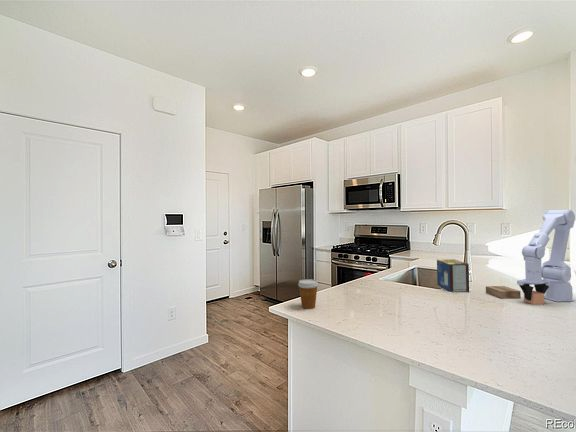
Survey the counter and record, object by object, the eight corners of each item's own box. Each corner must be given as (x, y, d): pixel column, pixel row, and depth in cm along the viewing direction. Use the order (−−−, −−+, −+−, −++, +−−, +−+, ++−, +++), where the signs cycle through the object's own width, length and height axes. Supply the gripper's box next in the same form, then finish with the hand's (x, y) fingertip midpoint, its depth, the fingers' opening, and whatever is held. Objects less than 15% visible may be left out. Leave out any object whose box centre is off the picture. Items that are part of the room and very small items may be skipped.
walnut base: (504, 293, 145) (504, 285, 145) (520, 299, 135) (520, 291, 135) (485, 293, 144) (485, 286, 144) (500, 299, 134) (500, 291, 134)
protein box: (455, 285, 162) (454, 259, 162) (469, 292, 147) (469, 263, 147) (436, 284, 163) (436, 259, 163) (449, 292, 148) (449, 263, 148)
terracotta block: (533, 300, 130) (533, 290, 130) (544, 304, 125) (544, 293, 125) (524, 301, 130) (523, 290, 130) (533, 304, 125) (533, 293, 125)
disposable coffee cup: (295, 308, 125) (294, 282, 125) (303, 302, 134) (303, 278, 134) (314, 311, 121) (313, 284, 121) (321, 305, 129) (321, 280, 129)
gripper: (526, 273, 123) (527, 302, 123) (556, 272, 124) (557, 301, 124) (513, 270, 130) (513, 298, 130) (541, 269, 131) (542, 297, 131)
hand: (533, 299), depth 128 cm, fingers closed on terracotta block, 5 cm apart
